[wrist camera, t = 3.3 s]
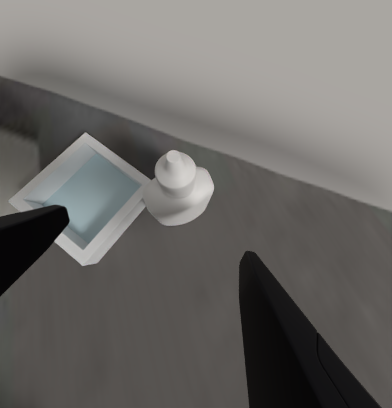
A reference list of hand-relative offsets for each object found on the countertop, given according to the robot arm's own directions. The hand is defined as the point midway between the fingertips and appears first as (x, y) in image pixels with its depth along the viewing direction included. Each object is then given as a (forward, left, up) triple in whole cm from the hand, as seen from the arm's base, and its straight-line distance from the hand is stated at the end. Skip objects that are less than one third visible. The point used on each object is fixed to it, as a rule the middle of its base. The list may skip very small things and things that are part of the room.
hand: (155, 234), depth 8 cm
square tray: (-2, +11, -11) cm, 15 cm away
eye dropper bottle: (+3, +2, -11) cm, 12 cm away
